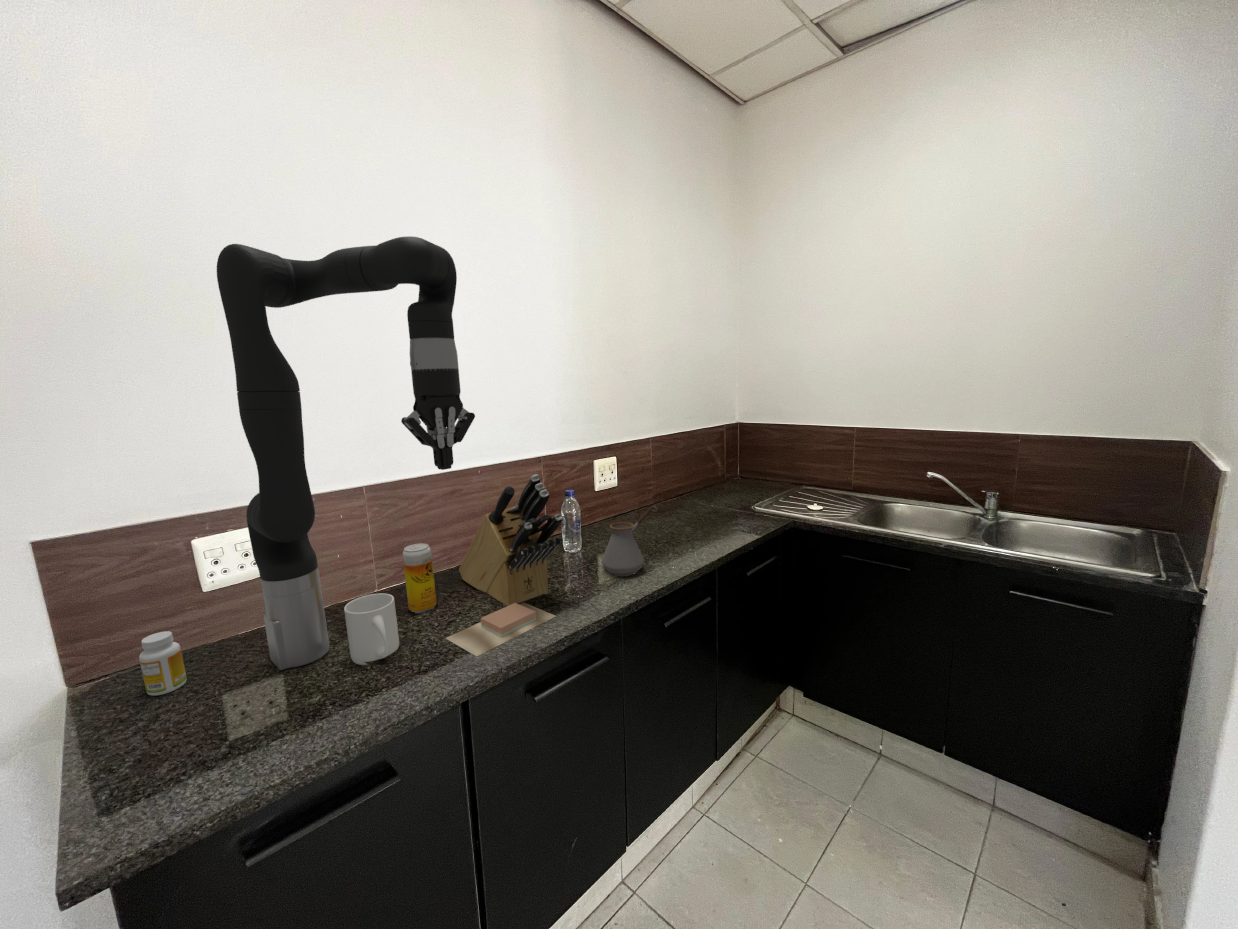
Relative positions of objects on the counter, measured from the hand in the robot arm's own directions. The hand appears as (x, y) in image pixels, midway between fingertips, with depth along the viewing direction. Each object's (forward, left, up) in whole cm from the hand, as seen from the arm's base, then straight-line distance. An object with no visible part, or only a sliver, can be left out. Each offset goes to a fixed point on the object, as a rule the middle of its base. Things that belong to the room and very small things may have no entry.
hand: (444, 468), depth 86 cm
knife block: (+25, +18, -37) cm, 48 cm away
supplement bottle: (-37, +36, -37) cm, 64 cm away
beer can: (+7, +28, -37) cm, 47 cm away
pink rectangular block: (+9, +4, -35) cm, 36 cm away
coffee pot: (+57, +5, -37) cm, 68 cm away
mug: (-9, +15, -37) cm, 41 cm away
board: (+12, +4, -37) cm, 39 cm away
